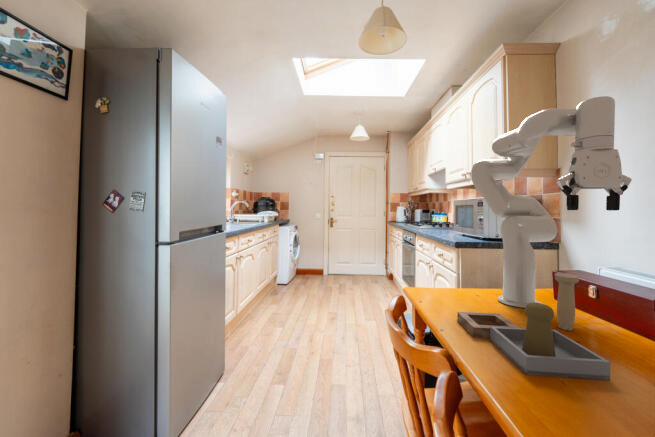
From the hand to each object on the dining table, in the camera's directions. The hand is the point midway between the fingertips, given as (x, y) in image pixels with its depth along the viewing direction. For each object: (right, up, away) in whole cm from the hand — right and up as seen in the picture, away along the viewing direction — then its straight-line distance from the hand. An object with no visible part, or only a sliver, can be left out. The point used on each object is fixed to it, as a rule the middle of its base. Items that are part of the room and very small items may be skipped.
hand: (592, 210), depth 74 cm
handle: (-5, -33, +3) cm, 34 cm away
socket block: (-27, -33, +2) cm, 43 cm away
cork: (-24, -33, -13) cm, 42 cm away
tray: (-24, -33, -13) cm, 43 cm away
